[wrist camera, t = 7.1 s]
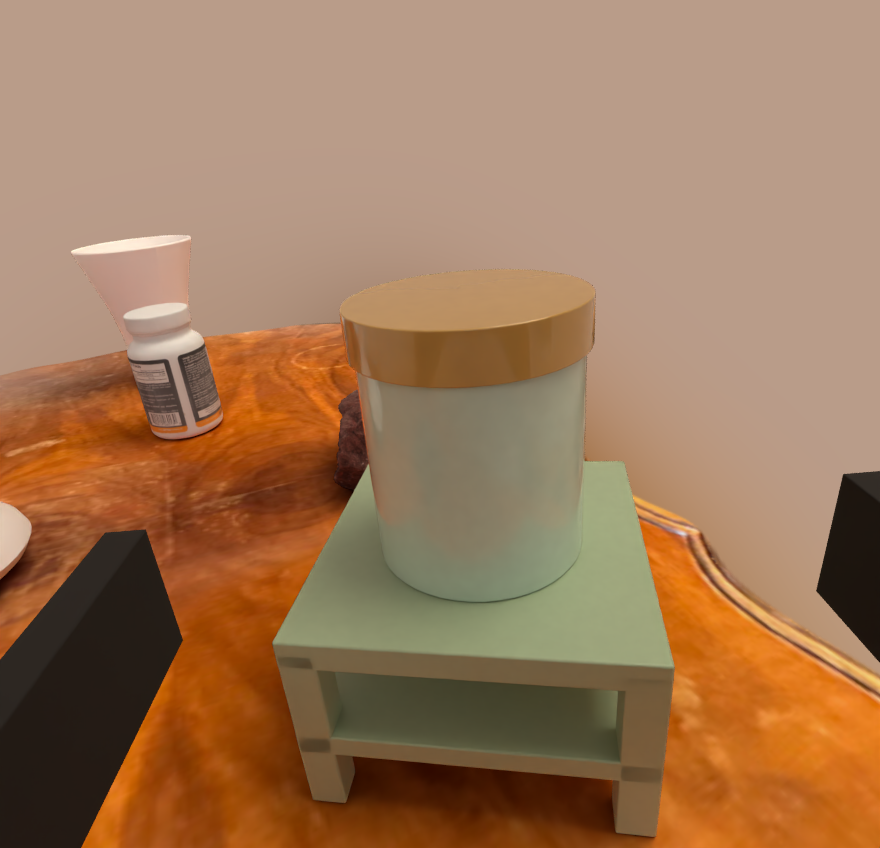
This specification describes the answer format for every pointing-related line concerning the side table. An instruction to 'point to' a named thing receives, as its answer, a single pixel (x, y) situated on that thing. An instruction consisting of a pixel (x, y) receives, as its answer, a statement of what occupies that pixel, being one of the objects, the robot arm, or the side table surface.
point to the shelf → (486, 663)
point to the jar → (475, 425)
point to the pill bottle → (172, 371)
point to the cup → (137, 273)
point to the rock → (351, 443)
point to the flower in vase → (12, 537)
